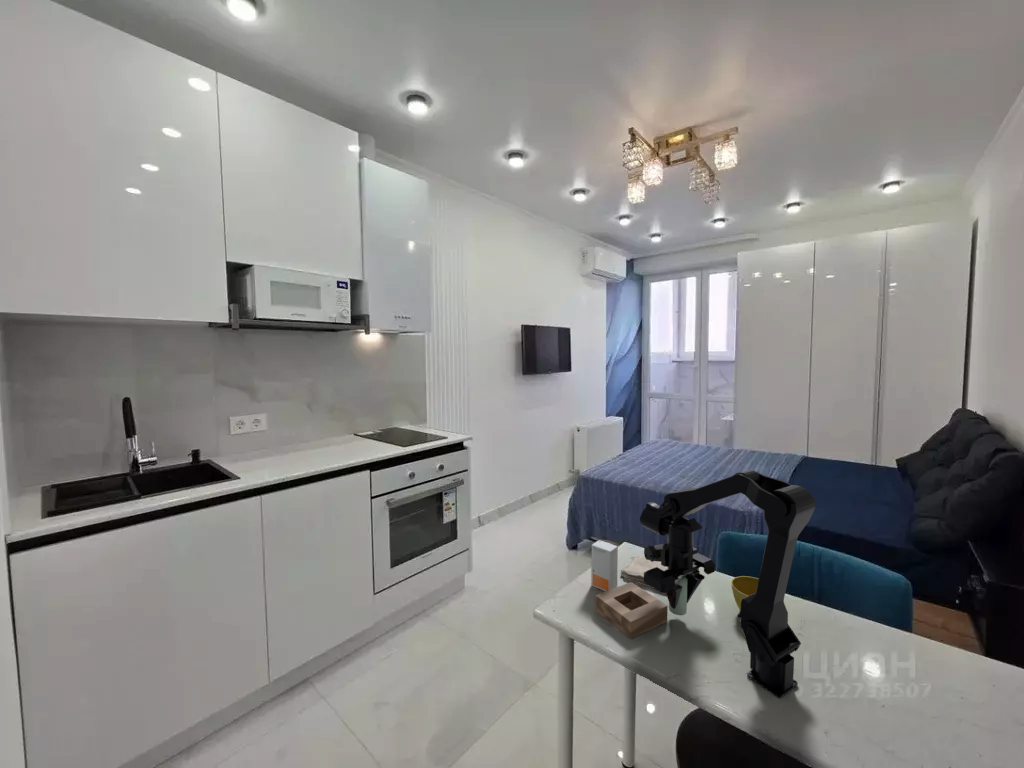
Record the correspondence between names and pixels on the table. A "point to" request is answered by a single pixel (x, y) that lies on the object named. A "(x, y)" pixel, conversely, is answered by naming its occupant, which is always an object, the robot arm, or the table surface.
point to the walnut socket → (631, 609)
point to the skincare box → (604, 565)
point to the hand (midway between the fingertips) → (679, 605)
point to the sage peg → (681, 598)
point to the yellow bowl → (743, 588)
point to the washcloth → (639, 569)
